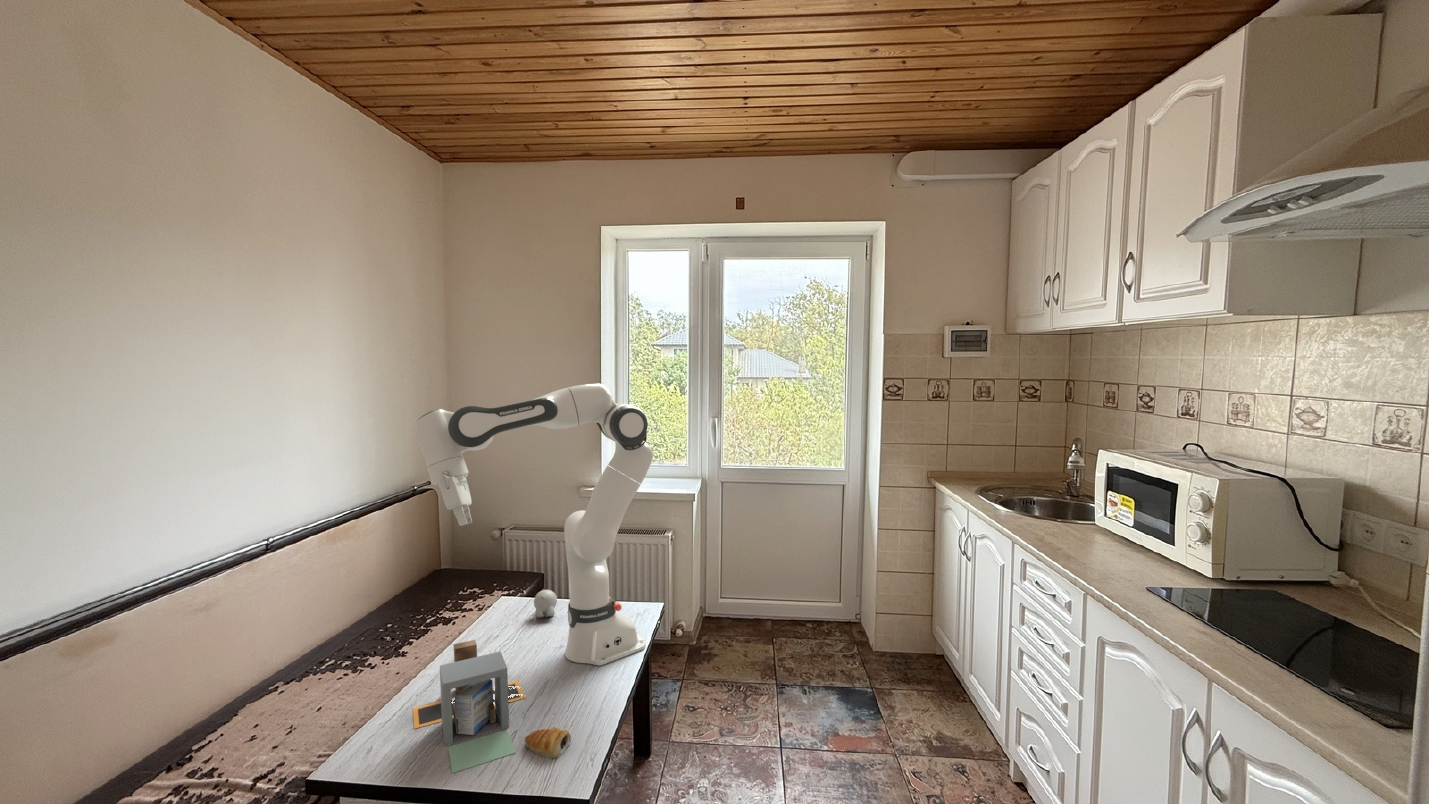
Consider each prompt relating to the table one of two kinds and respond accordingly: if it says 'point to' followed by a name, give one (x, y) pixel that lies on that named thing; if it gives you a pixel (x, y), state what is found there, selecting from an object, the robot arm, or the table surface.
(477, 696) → the medicine box
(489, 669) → the tunnel
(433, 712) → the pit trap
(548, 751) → the pastry
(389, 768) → the table surface
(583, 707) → the table surface
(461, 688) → the block
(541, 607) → the round bodied animal figurine
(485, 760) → the pad
